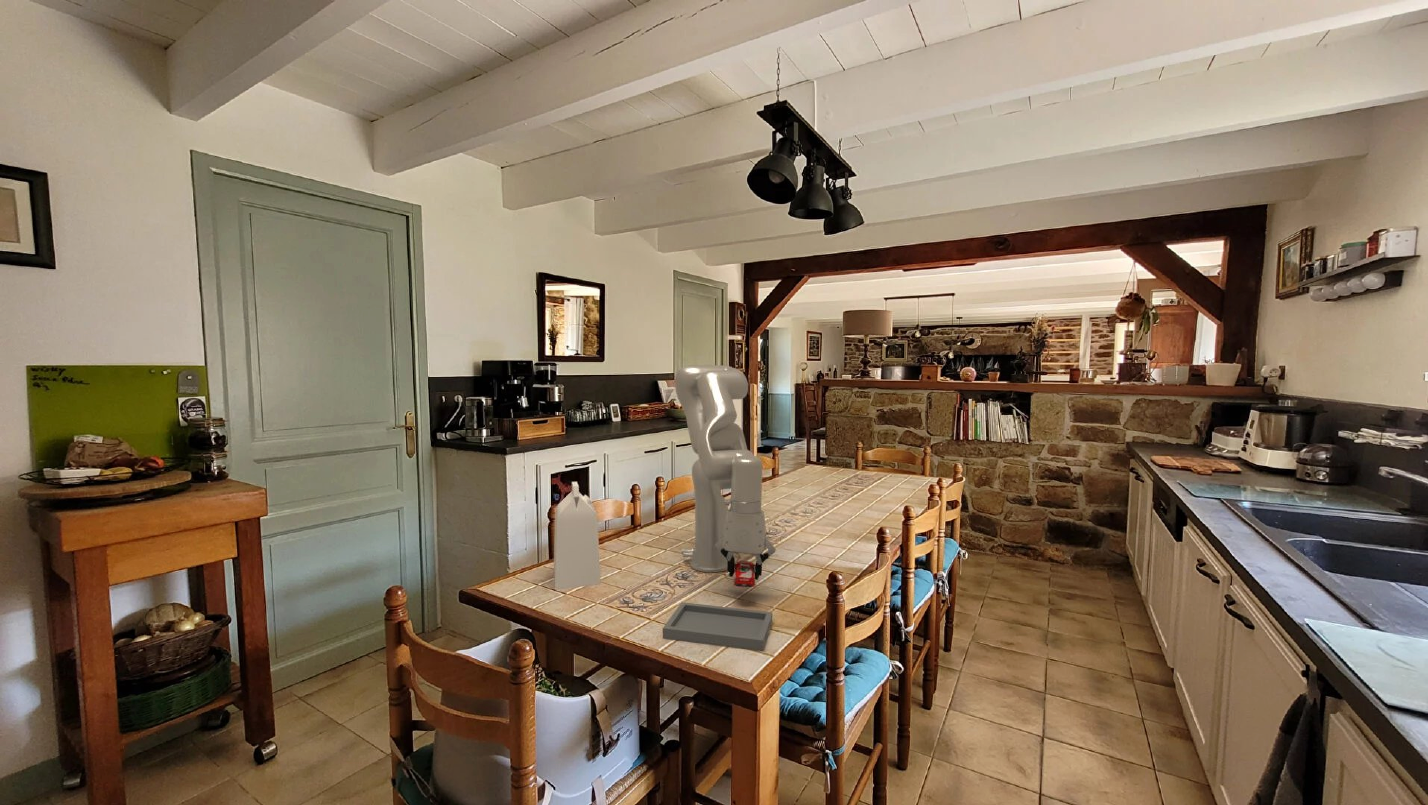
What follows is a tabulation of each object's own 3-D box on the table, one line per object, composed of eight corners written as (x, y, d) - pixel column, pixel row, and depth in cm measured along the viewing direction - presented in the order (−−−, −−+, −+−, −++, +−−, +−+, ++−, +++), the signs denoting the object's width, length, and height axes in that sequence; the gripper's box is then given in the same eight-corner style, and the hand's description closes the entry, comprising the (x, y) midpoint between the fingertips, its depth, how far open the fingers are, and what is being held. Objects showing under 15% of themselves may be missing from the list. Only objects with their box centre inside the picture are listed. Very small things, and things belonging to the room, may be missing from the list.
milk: (553, 573, 154) (552, 480, 152) (595, 568, 158) (594, 478, 156) (555, 589, 143) (553, 490, 141) (600, 584, 146) (599, 487, 145)
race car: (734, 568, 145) (735, 553, 145) (755, 569, 145) (755, 554, 144) (731, 589, 132) (732, 573, 132) (754, 590, 132) (755, 574, 131)
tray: (662, 638, 117) (662, 628, 117) (681, 611, 130) (681, 602, 130) (762, 651, 112) (763, 640, 112) (772, 621, 125) (772, 612, 125)
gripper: (708, 507, 135) (707, 578, 137) (778, 513, 131) (776, 586, 133) (715, 499, 142) (714, 566, 144) (782, 504, 138) (780, 574, 140)
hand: (744, 575), depth 138 cm, fingers closed on race car, 5 cm apart
